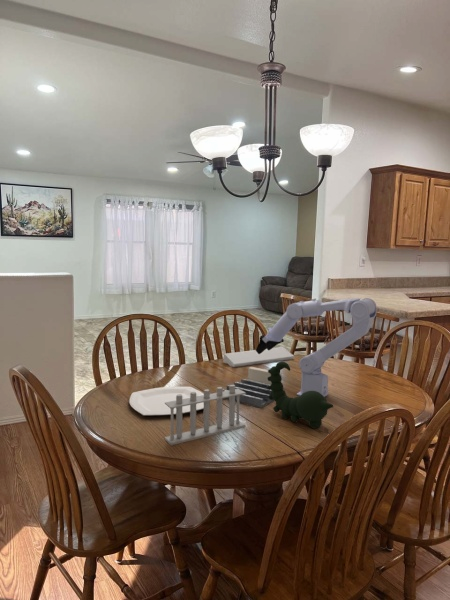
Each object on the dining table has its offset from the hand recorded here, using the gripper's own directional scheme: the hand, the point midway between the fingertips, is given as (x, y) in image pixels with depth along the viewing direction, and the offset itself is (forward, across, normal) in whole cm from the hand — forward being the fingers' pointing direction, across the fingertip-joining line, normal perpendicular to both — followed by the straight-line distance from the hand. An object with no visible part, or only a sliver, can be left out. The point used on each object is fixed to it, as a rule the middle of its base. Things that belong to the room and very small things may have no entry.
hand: (262, 350), depth 171 cm
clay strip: (+10, 0, +10) cm, 14 cm away
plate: (+20, +39, -2) cm, 44 cm away
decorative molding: (+23, -30, -6) cm, 38 cm away
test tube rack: (+5, +50, +17) cm, 53 cm away
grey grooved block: (+8, +15, +12) cm, 21 cm away
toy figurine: (-7, +25, +31) cm, 40 cm away
